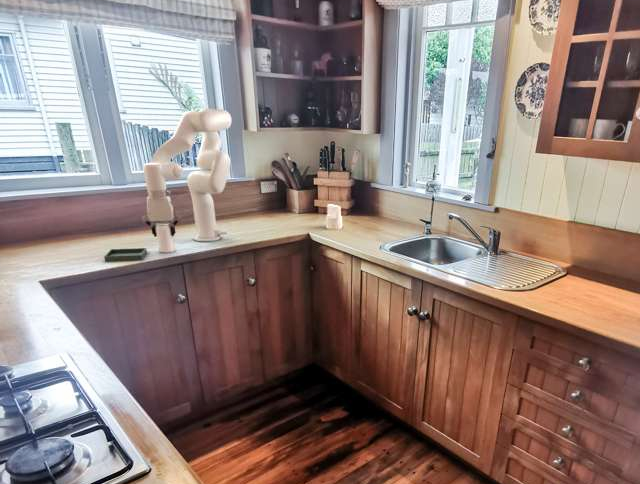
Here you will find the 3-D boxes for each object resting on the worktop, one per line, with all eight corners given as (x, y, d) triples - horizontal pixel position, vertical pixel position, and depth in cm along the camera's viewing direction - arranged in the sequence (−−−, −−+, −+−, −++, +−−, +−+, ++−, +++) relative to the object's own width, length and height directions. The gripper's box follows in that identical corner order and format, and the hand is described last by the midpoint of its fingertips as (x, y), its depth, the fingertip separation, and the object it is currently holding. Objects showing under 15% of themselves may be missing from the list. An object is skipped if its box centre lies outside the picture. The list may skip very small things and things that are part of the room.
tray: (146, 252, 204) (146, 248, 203) (142, 259, 194) (141, 255, 193) (111, 254, 200) (110, 249, 199) (105, 261, 191) (104, 256, 190)
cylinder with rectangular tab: (322, 226, 259) (322, 204, 254) (335, 224, 264) (335, 203, 259) (332, 230, 253) (332, 207, 247) (345, 227, 258) (345, 206, 253)
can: (169, 253, 204) (164, 226, 199) (155, 252, 205) (151, 225, 200) (177, 249, 209) (173, 223, 204) (164, 248, 210) (160, 222, 205)
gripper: (180, 192, 202) (186, 233, 209) (137, 192, 198) (144, 234, 205) (178, 195, 195) (184, 237, 203) (133, 195, 191) (141, 238, 199)
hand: (164, 235), depth 204 cm, fingers closed on can, 6 cm apart
